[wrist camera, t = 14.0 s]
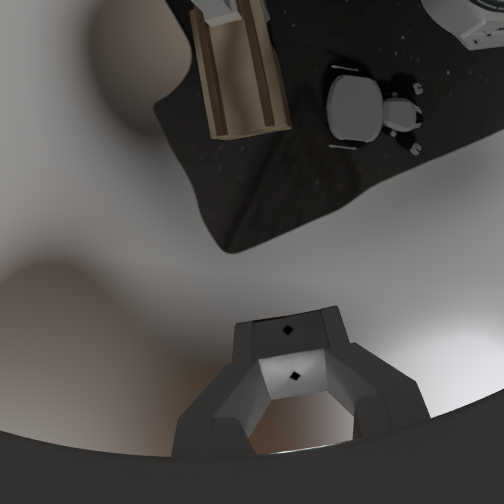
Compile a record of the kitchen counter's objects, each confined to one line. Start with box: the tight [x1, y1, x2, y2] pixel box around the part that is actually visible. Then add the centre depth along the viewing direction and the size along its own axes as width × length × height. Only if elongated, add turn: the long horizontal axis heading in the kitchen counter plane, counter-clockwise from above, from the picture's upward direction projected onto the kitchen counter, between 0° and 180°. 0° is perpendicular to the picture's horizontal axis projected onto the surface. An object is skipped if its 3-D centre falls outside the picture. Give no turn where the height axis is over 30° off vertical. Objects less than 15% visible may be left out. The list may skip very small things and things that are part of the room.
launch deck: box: [189, 0, 292, 140], centre depth 40 cm, size 10×20×11 cm, turn 10°
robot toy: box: [326, 65, 424, 155], centre depth 42 cm, size 12×4×15 cm
